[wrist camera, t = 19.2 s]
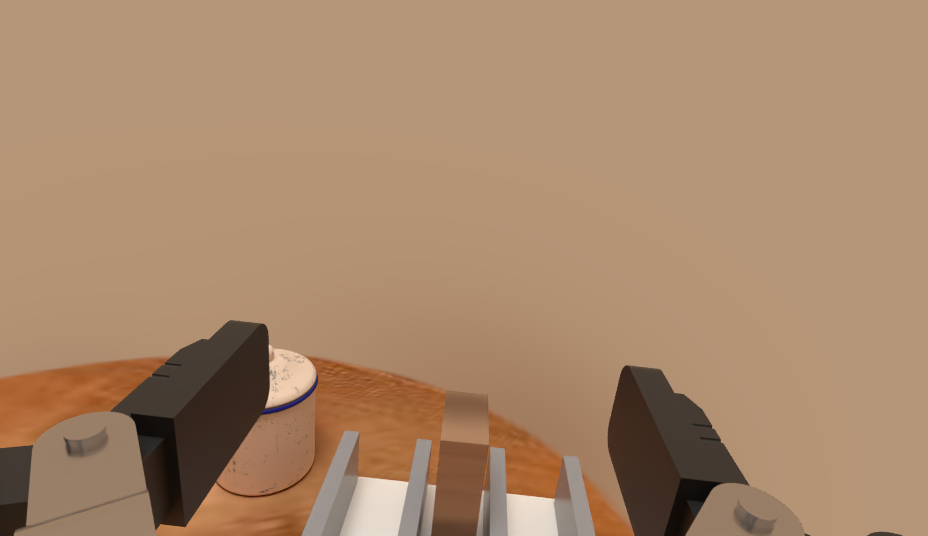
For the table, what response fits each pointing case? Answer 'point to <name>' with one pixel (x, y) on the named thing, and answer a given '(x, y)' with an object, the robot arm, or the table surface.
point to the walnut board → (461, 464)
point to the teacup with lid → (278, 431)
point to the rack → (412, 503)
